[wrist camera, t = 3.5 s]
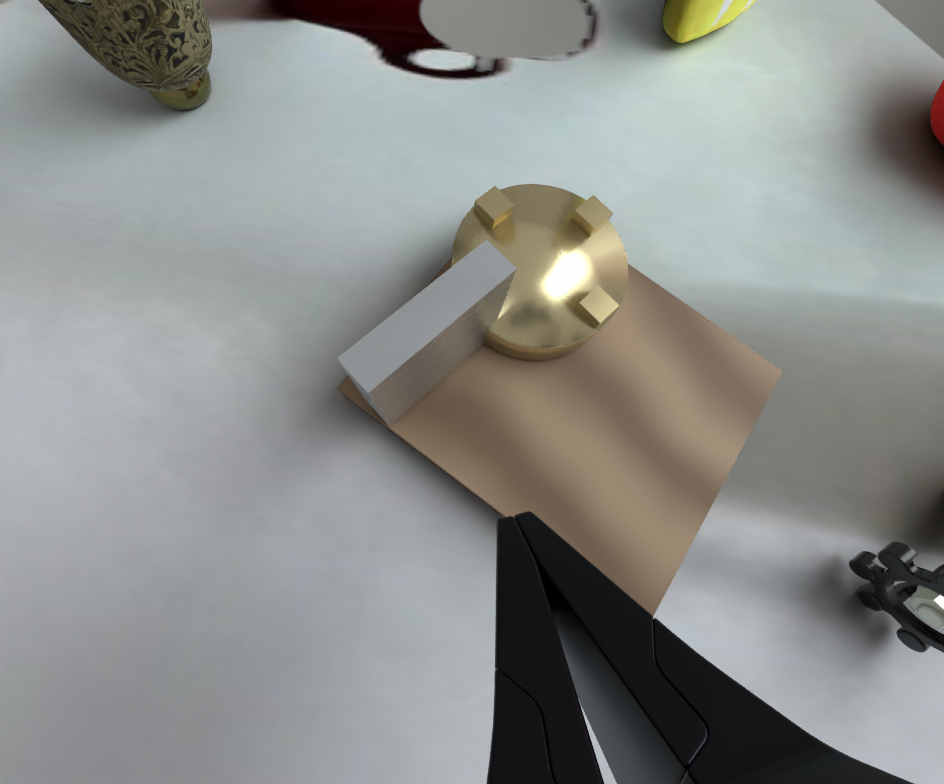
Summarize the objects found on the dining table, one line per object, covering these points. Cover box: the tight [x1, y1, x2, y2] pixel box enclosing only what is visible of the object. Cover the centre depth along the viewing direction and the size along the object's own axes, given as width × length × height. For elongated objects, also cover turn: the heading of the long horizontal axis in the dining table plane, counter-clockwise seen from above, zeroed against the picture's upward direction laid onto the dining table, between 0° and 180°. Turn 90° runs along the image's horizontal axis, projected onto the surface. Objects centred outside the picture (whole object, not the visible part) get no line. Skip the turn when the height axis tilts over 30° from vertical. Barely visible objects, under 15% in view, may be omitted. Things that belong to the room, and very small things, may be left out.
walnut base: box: [338, 258, 783, 616], centre depth 23 cm, size 16×19×2 cm
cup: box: [39, 0, 212, 110], centre depth 22 cm, size 8×7×8 cm
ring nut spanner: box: [336, 184, 628, 427], centre depth 19 cm, size 16×9×7 cm, turn 134°
